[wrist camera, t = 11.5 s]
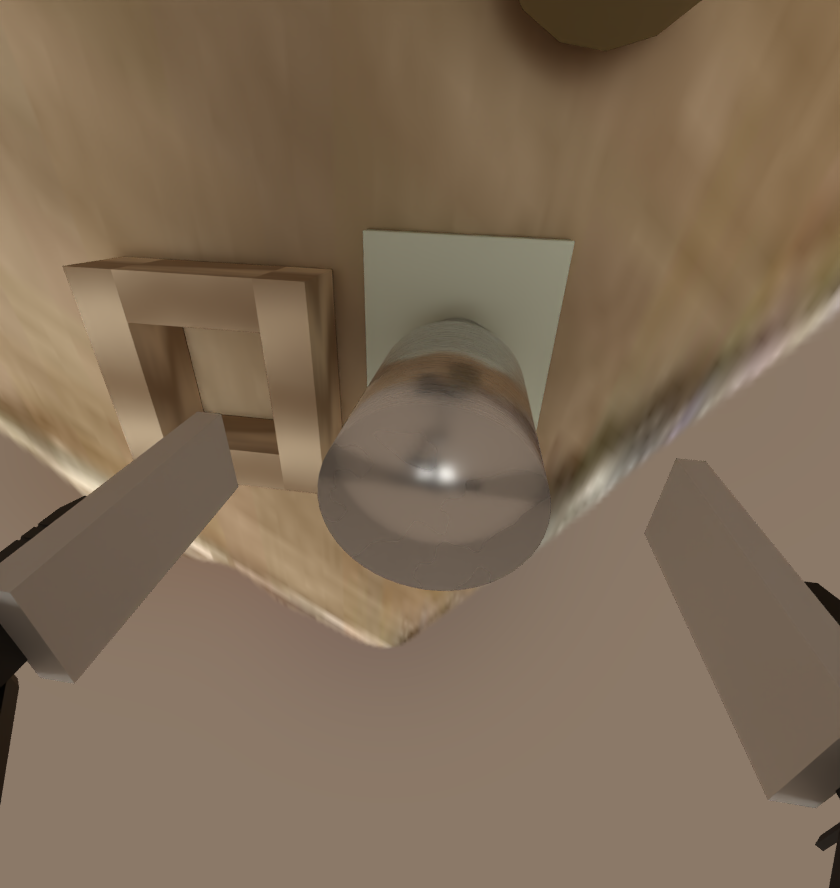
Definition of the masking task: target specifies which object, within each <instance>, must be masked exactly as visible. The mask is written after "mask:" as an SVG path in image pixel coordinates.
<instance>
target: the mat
mask: <svg viewBox="0 0 840 888" xmlns="http://www.w3.org/2000/svg"><path fill="white" fill-rule="evenodd" d="M574 243H575V241H573V240H567V239H548V238H529V237H509V236H490V235H471V234H451V233H432V232H413V231H393V230H374V229H367V230H363V253H364V289H365V324H366V360H367V387H368V385H369V384H370V382H371V380H372V379H373V377H374V375H375V374H376V372H377V371H378V369H379V367H380V366H381V364H382V362H383V361H384V359H385V357H386V356H387V354H388V353H389V351H390V350H391V349H392V347H393V346H394V345H395V344H396V343H397V342H398V341H399V340H400V339H401V338H403V337H404V336H405V335H406V334H408V333H410V332H411V331H413V330H415V329H417V328H419V327H422V326H424V325H428V324H431V323H435V322H439V321H441V320H444V319H447V318H465V319H469V320H472V321H474V322H476V323H478V324H479V325H481V326H482V327H483V328H485V329H486V330H487V331H489V332H491V333H492V334H494V335H495V336H497V337H498V338H499V339H500V340H502V341H503V342H504V343H505V344H506V345H507V346H508V347H509V348H510V350H511V351H512V353H513V354H514V355H515V357H516V359H517V361H518V363H519V365H520V367H521V370H522V373H523V377H524V381H525V386H526V390H527V394H528V399H529V403H530V408H531V412H532V416H533V421H534V425H535V429H537V425H538V420H539V415H540V410H541V405H542V400H543V395H544V390H545V385H546V380H547V375H548V370H549V366H550V361H551V356H552V351H553V346H554V341H555V336H556V331H557V326H558V321H559V316H560V311H561V307H562V302H563V297H564V292H565V287H566V282H567V277H568V272H569V267H570V262H571V257H572V252H573V247H574Z"/></svg>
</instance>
